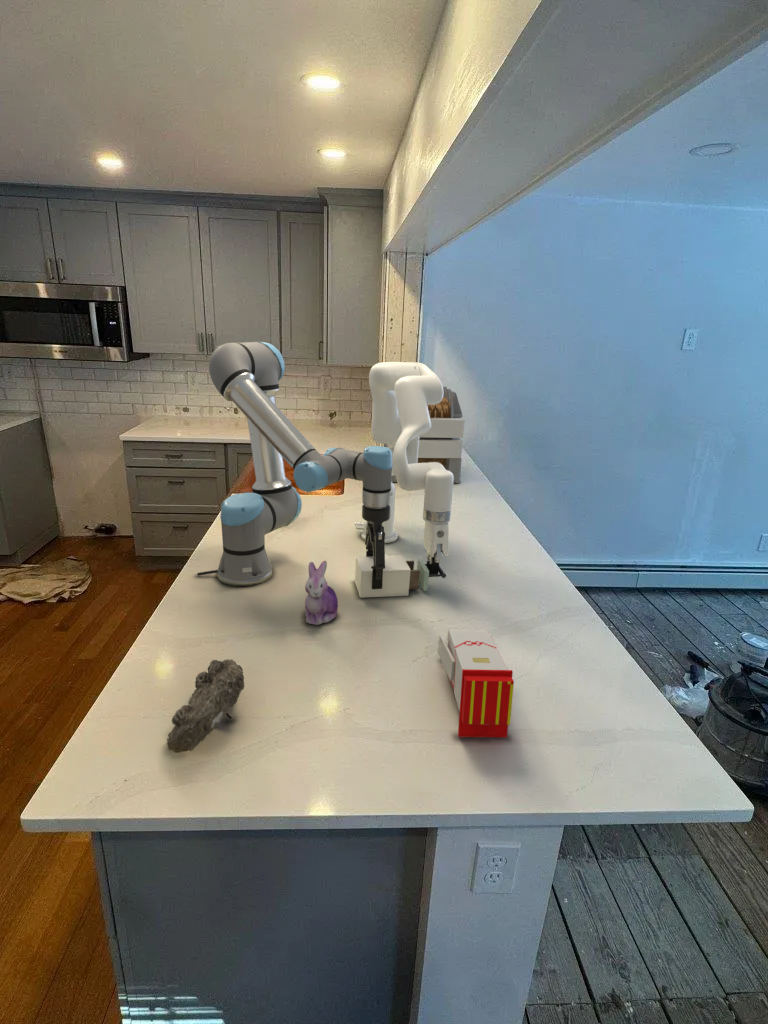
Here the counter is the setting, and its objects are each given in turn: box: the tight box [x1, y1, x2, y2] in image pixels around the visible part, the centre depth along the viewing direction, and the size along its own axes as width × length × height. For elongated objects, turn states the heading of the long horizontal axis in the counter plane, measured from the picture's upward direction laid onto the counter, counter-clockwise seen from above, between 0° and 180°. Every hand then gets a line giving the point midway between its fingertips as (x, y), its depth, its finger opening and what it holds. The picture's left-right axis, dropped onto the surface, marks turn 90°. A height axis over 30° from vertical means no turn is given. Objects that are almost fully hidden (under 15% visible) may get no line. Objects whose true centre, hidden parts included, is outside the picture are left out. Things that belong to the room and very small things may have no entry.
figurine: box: [304, 560, 339, 626], centre depth 142 cm, size 9×10×15 cm
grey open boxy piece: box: [383, 386, 465, 484], centre depth 268 cm, size 34×33×41 cm
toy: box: [437, 628, 515, 738], centre depth 117 cm, size 12×13×30 cm
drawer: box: [405, 558, 447, 592], centre depth 161 cm, size 18×8×6 cm, turn 101°
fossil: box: [166, 658, 245, 754], centre depth 106 cm, size 22×10×15 cm
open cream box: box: [354, 554, 410, 599], centre depth 159 cm, size 14×10×8 cm
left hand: (373, 579), depth 159 cm, fingers closed on open cream box, 10 cm apart
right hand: (432, 574), depth 162 cm, fingers closed
